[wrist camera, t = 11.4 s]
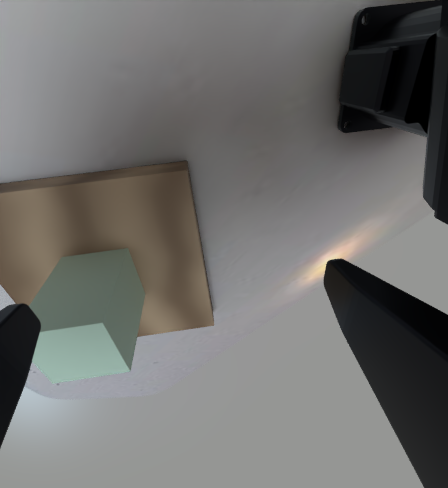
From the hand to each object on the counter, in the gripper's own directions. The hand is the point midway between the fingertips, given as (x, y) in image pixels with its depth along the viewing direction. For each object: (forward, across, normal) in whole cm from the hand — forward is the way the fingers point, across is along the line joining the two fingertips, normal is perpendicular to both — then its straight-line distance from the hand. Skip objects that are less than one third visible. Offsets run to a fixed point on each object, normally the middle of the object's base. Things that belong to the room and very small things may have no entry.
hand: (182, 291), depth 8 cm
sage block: (+11, +8, +8) cm, 16 cm away
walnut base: (+13, +8, +8) cm, 17 cm away
